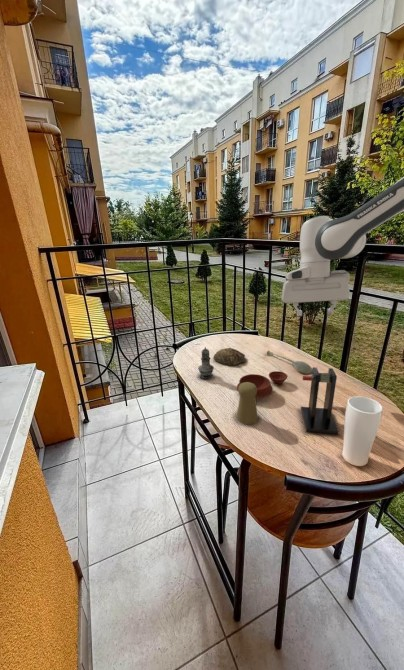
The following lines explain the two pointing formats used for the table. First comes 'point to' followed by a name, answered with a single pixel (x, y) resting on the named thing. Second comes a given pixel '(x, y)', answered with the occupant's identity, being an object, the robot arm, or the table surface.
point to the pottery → (264, 382)
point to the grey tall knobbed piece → (205, 366)
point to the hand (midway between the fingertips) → (314, 315)
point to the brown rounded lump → (229, 356)
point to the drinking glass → (360, 429)
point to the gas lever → (323, 378)
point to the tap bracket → (320, 417)
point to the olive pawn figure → (247, 403)
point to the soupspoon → (297, 364)
